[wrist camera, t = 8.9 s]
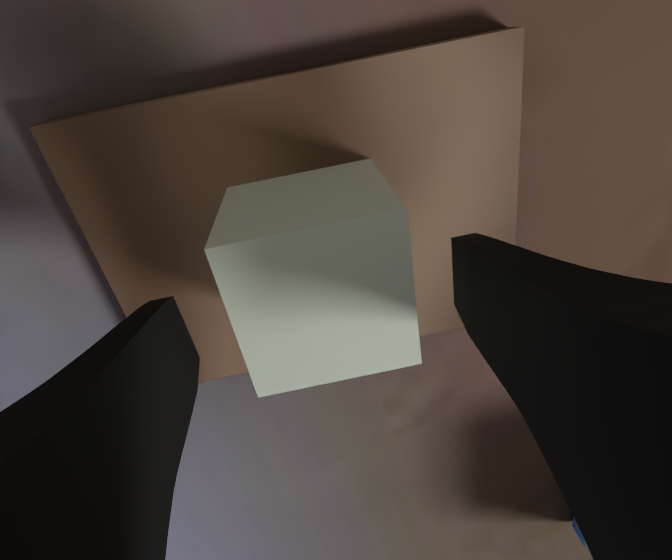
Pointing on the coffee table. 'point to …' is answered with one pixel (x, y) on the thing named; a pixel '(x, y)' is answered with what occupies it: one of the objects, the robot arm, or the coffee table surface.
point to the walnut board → (296, 168)
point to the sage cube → (317, 276)
